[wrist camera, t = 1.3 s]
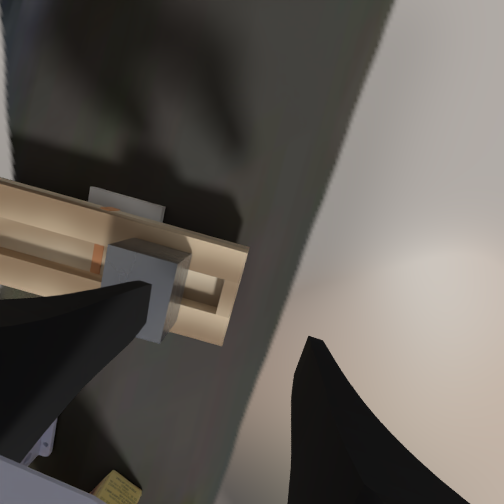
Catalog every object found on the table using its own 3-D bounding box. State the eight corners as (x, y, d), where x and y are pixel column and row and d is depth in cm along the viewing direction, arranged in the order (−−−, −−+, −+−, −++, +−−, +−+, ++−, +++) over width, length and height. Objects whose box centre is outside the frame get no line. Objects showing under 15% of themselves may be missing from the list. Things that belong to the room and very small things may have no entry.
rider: (181, 314, 20) (159, 343, 16) (129, 300, 20) (93, 325, 16) (196, 250, 19) (177, 263, 15) (141, 235, 19) (107, 244, 15)
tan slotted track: (226, 329, 23) (218, 358, 19) (-4, 265, 23) (-64, 279, 19) (254, 231, 22) (251, 238, 17) (6, 161, 22) (-58, 151, 17)
